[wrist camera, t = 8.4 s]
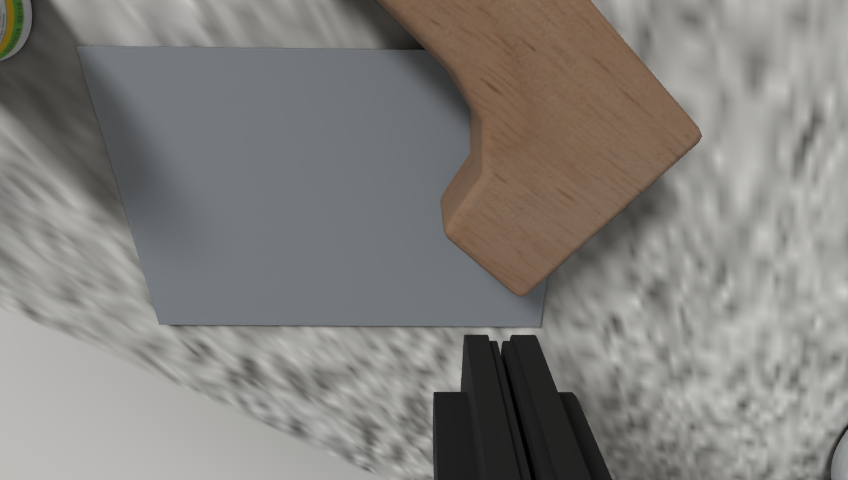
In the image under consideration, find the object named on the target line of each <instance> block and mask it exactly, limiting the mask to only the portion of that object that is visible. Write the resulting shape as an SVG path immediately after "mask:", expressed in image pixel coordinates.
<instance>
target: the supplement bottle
mask: <svg viewBox="0 0 848 480" xmlns="http://www.w3.org/2000/svg"><path fill="white" fill-rule="evenodd" d="M31 24H32V7H31V1H30V0H0V61H1V60H4V59H6V58H9V57H11V56H12V55H14V54H15V53H17V52H18V51H19V50H20V49H21V48H22V46H23V45H24V43H25V42H26V40H27V38H28V36H29V33H30V29H31Z"/></svg>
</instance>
